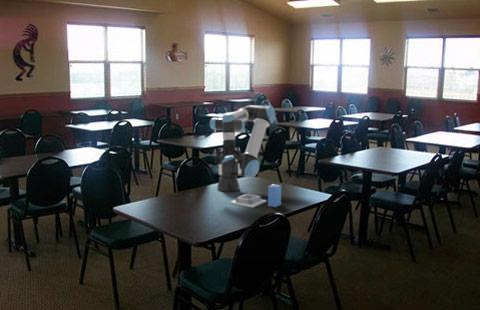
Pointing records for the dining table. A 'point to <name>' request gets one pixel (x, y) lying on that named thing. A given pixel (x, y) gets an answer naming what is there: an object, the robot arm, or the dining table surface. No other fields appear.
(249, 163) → the robot arm
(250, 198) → the white square socket base
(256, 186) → the dining table surface
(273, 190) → the blue drink carton
